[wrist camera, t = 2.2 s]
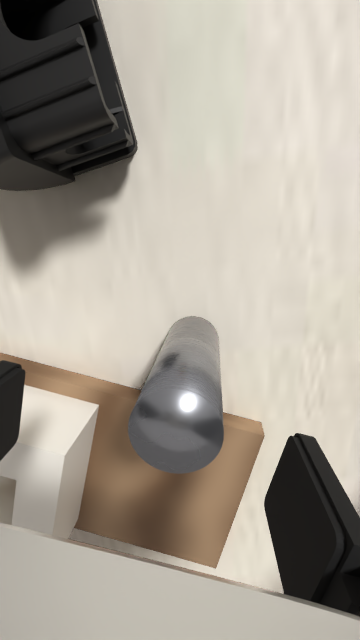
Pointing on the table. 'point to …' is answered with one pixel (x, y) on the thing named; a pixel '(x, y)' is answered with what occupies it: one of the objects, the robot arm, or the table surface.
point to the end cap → (58, 94)
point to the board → (152, 475)
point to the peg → (181, 401)
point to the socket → (47, 463)
